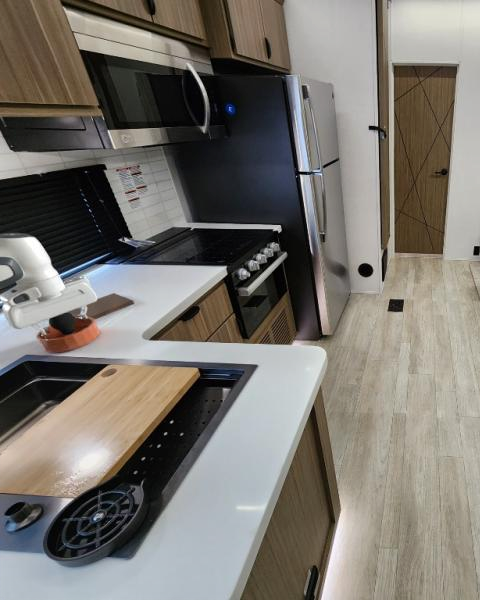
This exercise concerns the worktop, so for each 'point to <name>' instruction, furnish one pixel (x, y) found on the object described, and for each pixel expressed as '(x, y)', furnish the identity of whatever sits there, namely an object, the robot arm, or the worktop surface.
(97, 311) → the board
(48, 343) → the bowl
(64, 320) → the black bulb silver base
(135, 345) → the worktop surface
